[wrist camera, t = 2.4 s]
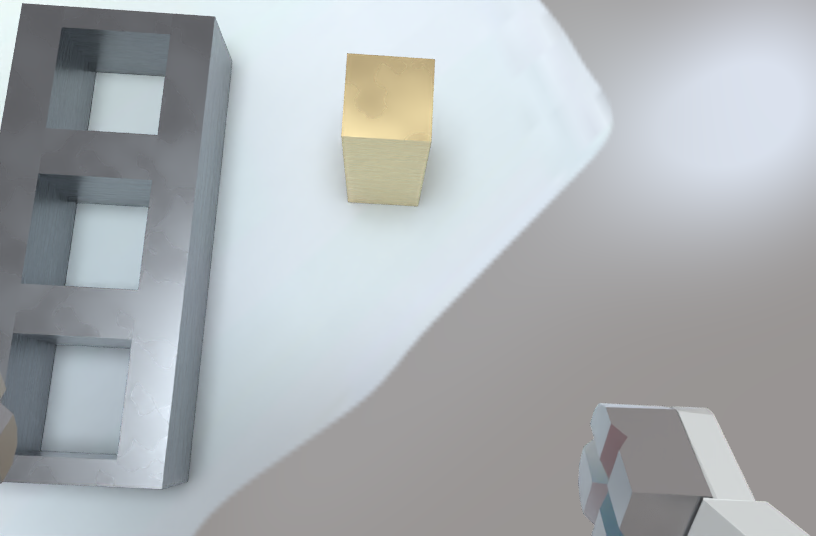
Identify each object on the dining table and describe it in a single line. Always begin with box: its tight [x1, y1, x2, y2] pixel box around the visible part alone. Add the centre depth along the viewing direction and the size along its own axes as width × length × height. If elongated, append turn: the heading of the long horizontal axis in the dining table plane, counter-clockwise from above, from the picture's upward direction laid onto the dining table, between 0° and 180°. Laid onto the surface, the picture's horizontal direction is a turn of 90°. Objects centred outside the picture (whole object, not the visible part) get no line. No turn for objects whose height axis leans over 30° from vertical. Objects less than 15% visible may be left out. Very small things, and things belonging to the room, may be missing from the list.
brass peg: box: [341, 53, 435, 206], centre depth 39 cm, size 4×4×10 cm
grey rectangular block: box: [0, 3, 232, 489], centre depth 39 cm, size 24×10×5 cm, turn 177°
